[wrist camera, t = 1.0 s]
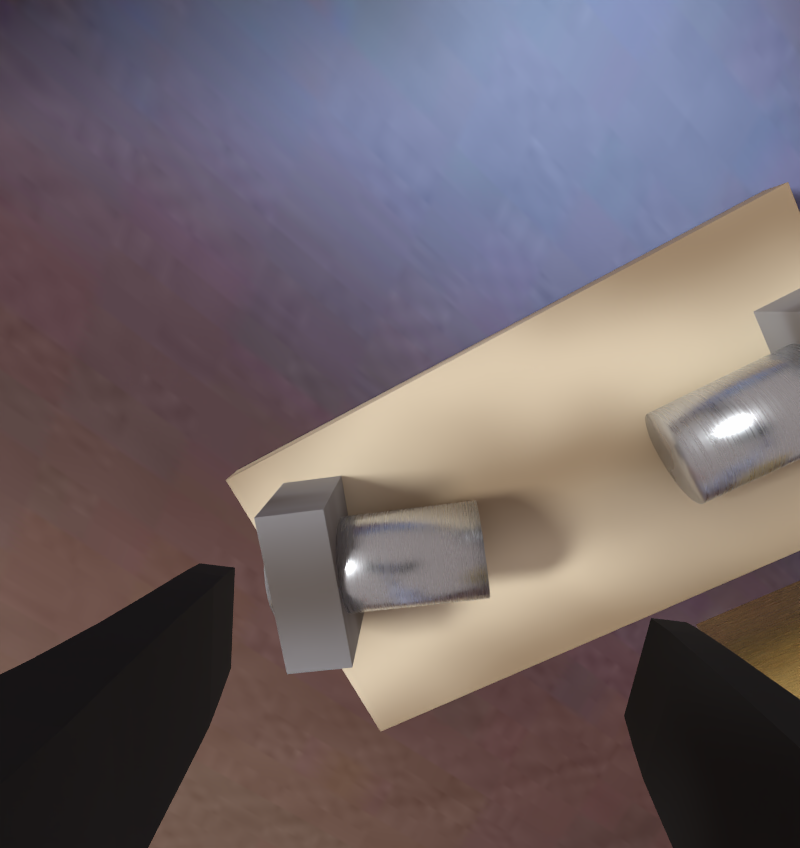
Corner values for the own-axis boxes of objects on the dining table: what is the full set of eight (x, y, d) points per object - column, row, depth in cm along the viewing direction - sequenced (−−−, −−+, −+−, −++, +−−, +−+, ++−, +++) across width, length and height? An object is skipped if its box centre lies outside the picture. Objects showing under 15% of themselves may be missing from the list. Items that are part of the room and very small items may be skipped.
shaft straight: (836, 306, 17) (924, 304, 14) (870, 392, 17) (962, 409, 14) (634, 405, 17) (676, 424, 15) (671, 485, 18) (719, 519, 15)
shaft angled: (472, 487, 18) (481, 521, 15) (483, 570, 19) (493, 618, 16) (283, 510, 19) (257, 547, 16) (299, 590, 19) (276, 640, 16)
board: (882, 489, 19) (1017, 543, 14) (383, 708, 22) (372, 807, 17) (763, 190, 17) (875, 150, 13) (237, 470, 20) (185, 514, 16)
